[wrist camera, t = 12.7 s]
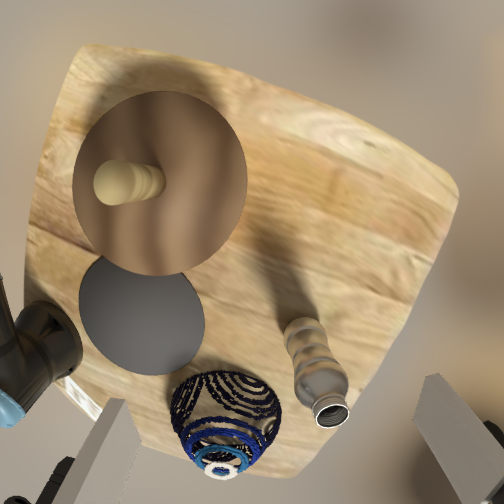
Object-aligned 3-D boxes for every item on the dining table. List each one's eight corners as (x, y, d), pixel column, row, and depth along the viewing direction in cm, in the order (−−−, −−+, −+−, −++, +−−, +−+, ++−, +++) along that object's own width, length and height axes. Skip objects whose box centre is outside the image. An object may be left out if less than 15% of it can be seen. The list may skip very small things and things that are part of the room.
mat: (96, 369, 47) (95, 370, 47) (69, 253, 43) (68, 253, 42) (211, 376, 48) (211, 377, 47) (197, 247, 43) (197, 247, 42)
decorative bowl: (157, 422, 50) (140, 475, 36) (195, 352, 47) (179, 409, 33) (248, 455, 53) (248, 509, 39) (300, 395, 49) (314, 453, 35)
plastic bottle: (299, 356, 47) (324, 445, 27) (272, 329, 46) (287, 418, 26) (330, 331, 46) (373, 413, 27) (305, 303, 45) (341, 381, 25)
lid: (94, 282, 34) (47, 316, 24) (69, 120, 30) (15, 104, 19) (259, 260, 34) (265, 295, 23) (234, 78, 30) (228, 33, 19)
